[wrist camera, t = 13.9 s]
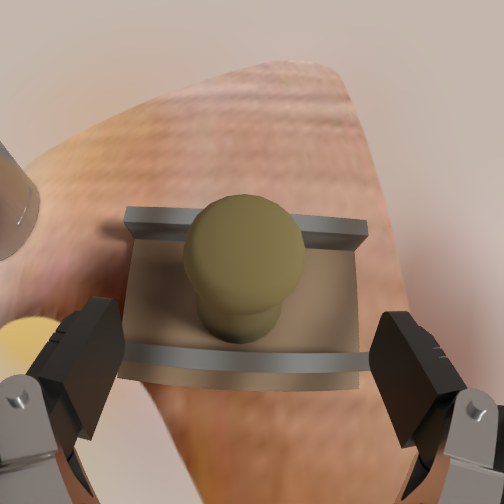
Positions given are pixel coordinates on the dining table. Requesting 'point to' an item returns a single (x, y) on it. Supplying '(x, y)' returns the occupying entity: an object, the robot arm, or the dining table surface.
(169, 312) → the walnut track
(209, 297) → the olive waisted cylinder
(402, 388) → the robot arm
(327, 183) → the dining table surface
